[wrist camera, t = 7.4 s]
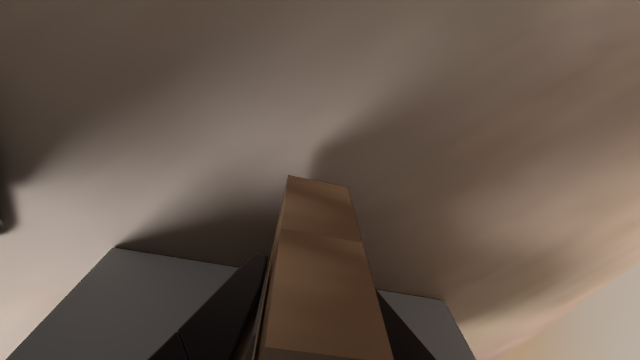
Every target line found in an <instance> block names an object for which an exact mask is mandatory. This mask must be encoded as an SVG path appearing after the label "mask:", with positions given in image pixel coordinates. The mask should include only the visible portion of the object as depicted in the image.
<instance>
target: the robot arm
mask: <svg viewBox="0 0 640 360" xmlns="http://www.w3.org/2000/svg"><path fill="white" fill-rule="evenodd" d="M267 261H268V255H266V254H261V253H253V254H252V255H251V256H250V257H249V258H248V259H247V260H246V261H245V262H244V263H243V264H242V265H241V266H240V267H239V268H238V269H237V270H236V271H235V272H234V273H233V274H232V275H231V276H230V277H229V278H228V279H227V280H226V281H225V282H224V283H223V284H222V285H221V286H220V287H219V288H218V289H217V290H216V291H215V292H214V293H213V294H212V295H211V296H210V297H209V298H208V299H207V301H206V302H205V303H204V304H203V305H202V306H201V307H200V308H199V309H198V310H197V311H196V312H195V313H194V314H193V315H192V316H191V317H190V318H189V319H188V320H187V321H186V322H185V323H184V324H183V325H182V326H181V327H180V328H179V329H178V330H177V332H175V333H174V334H173V335H172V336H171V337H170V338H169V339H168V340H167V341H166V342H165V343H164V344H163V345H162V346H161V347H159V348H158V349H157V350H156V351H155V352H154V353H153V354H152V355H151V356H150V357H149V358H148V359H147V360H245V358H246V355H247V352H248V348H249V345H250V342H251V338H252V335H253V330H254V326H255V321H256V316H257V312H258V307H259V303H260V298H261V294H262V289H263V284H264V280H265V274H266V268H267ZM375 291H376V295H377V299H378V302H379V306H380V310H381V314H382V317H383V321H384V325H385V329H386V332H387V336H388V340H389V343H390V347H391V351H392V355H393V358H394V360H437V359H436V358H435V357H434V356H433V355H432V354H431V352H430V351H429V350H428V349H427V348H426V347H425V345H424V344H423V343H422V342H421V341H420V340H419V339H418V337H417V336H416V335H415V334H414V333H413V332H412V330H411V329H410V328H409V327H408V326H407V325H406V323H405V322H404V321H403V320H402V319H401V318H400V316H399V315H398V314H397V313H396V312H395V311H394V309H393V308H392V307H391V306H390V305H389V304H388V303H387V301H386V300H385V299H384V298H383V297H382V296H381V294H380V293H379V292H378V291H377V290H376V289H375Z"/></svg>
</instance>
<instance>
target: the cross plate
mask: <svg viewBox="0 0 640 360" xmlns="http://www.w3.org/2000/svg"><path fill="white" fill-rule="evenodd" d="M251 360H394V358H393V355H392V351H391V347H390V343H389V340H388V336H387V332H386V329H385V325H384V321H383V317H382V314H381V310H380V306H379V302H378V299H377V295H376V291H375V287H374V284H373V280H372V276H371V273H370V269H369V265H368V261H367V258H366V254H365V250H364V246H363V243H362V239H361V235H360V231H359V228H358V224H357V220H356V217H355V213H354V209H353V205H352V202H351V198H350V194H349V190H348V187H344V186H339V185H334V184H329V183H324V182H319V181H314V180H310V179H305V178H300V177H295V176H290V175H288V178H287V183H286V187H285V192H284V196H283V201H282V205H281V210H280V214H279V219H278V223H277V228H276V233H275V237H274V242H273V246H272V251H271V255H270V260H269V264H268V269H267V273H266V278H265V284H264V290H263V296H262V302H261V308H260V313H259V319H258V325H257V331H256V337H255V343H254V348H253V353H252V357H251Z"/></svg>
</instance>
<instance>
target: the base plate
mask: <svg viewBox="0 0 640 360" xmlns="http://www.w3.org/2000/svg"><path fill="white" fill-rule="evenodd" d="M237 269H238V268H237V267H231V266H225V265H219V264H212V263H206V262H200V261H194V260H188V259H181V258H175V257H169V256H163V255H156V254H150V253H144V252H138V251H131V250H125V249H119V248H112V249H111V250H110V251H109V252H108V253H107V254H106V255H105V256H104V257H103V258H102V259H101V260H100V261H99V262H98V263H97V264H96V265H95V267H94V268H93V269H92V270H91V271H90V272H89V273H88V274H87V275H86V276H85V277H84V278H83V279H82V280H81V281H80V282H79V283H78V284H77V285H76V286H75V287H74V289H73V290H72V291H71V292H70V293H69V294H68V295H67V296H66V297H65V298H64V299H63V300H62V301H61V302H60V303H59V304H58V305H57V306H56V307H55V308H54V309H53V311H52V312H51V313H50V314H49V315H48V316H47V317H46V318H45V319H44V320H43V321H42V322H41V323H40V324H39V325H38V326H37V327H36V328H35V329H34V330H33V332H32V333H31V334H30V335H29V336H28V337H27V338H26V339H25V340H24V341H23V342H22V343H21V344H20V345H19V346H18V347H17V348H16V349H15V350H14V351H13V352H12V354H11V355H10V356H9V357H8V358H7V359H6V360H147V359H148V358H149V357H150V356H151V355H152V354H153V353H154V352H155V351H156V350H157V349H158V348H159V347H161V346H162V345H163V344H164V343H165V342H166V341H167V340H168V339H169V338H170V337H171V336H172V335H173V334H174V333H175V332H177V330H178V329H179V328H180V327H181V326H182V325H183V324H184V323H185V322H186V321H187V320H188V319H189V318H190V317H191V316H192V315H193V314H194V313H195V312H196V311H197V310H198V309H199V308H200V307H201V306H202V305H203V304H204V303H205V302H206V301H207V299H208V298H209V297H210V296H211V295H212V294H213V293H214V292H215V291H216V290H217V289H218V288H219V287H220V286H221V285H222V284H223V283H224V282H225V281H226V280H227V279H228V278H229V277H230V276H231V275H232V274H233V273H234V272H235V271H236V270H237ZM266 273H267V272H266ZM265 278H266V274H265ZM264 284H265V280H264ZM264 284H263V289H262V294H261V298H260V303H259V307H258V312H257V316H256V321H255V326H254V330H253V335H252V338H251V342H250V345H249V348H248V352H247V355H246V358H245V360H251V357H252V353H253V348H254V343H255V337H256V331H257V325H258V319H259V313H260V308H261V302H262V296H263V290H264ZM377 291H378V292H379V293H380V294H381V296H382V297H383V298H384V299H385V300H386V301H387V303H388V304H389V305H390V306H391V307H392V308H393V309H394V311H395V312H396V313H397V314H398V315H399V316H400V318H401V319H402V320H403V321H404V322H405V323H406V325H407V326H408V327H409V328H410V329H411V330H412V332H413V333H414V334H415V335H416V336H417V337H418V339H419V340H420V341H421V342H422V343H423V344H424V345H425V347H426V348H427V349H428V350H429V351H430V352H431V354H432V355H433V356H434V357H435V358H436V359H437V360H476V359H475V357H474V355H473V353H472V351H471V350H470V348H469V346H468V344H467V342H466V340H465V339H464V337H463V335H462V333H461V331H460V329H459V327H458V326H457V324H456V322H455V320H454V318H453V316H452V315H451V313H450V311H449V309H448V307H447V305H446V303H445V302H444V301H443V300H437V299H431V298H424V297H418V296H412V295H406V294H400V293H393V292H387V291H381V290H377Z"/></svg>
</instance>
